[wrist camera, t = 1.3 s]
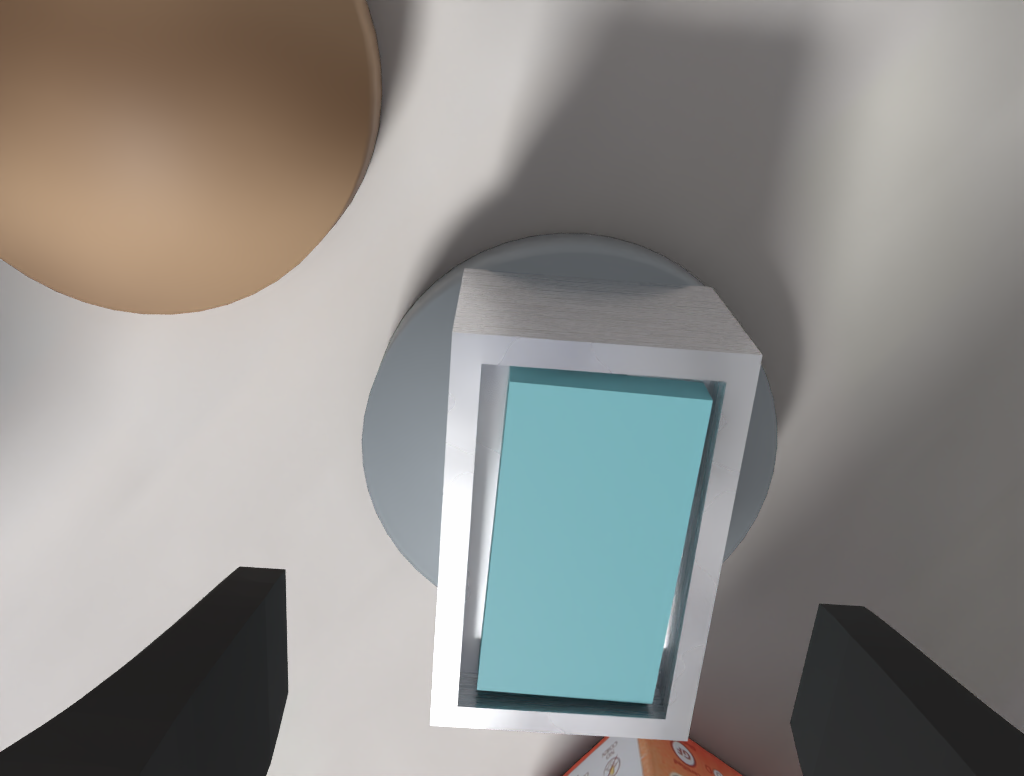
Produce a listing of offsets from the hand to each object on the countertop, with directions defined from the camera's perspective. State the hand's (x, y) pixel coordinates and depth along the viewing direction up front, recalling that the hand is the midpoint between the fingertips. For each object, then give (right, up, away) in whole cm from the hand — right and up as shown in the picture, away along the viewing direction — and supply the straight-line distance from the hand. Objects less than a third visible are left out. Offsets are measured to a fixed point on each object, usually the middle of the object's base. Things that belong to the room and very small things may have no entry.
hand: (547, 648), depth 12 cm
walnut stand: (-8, +10, +6) cm, 14 cm away
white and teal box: (+1, +2, +8) cm, 8 cm away
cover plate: (+1, +1, +5) cm, 5 cm away
